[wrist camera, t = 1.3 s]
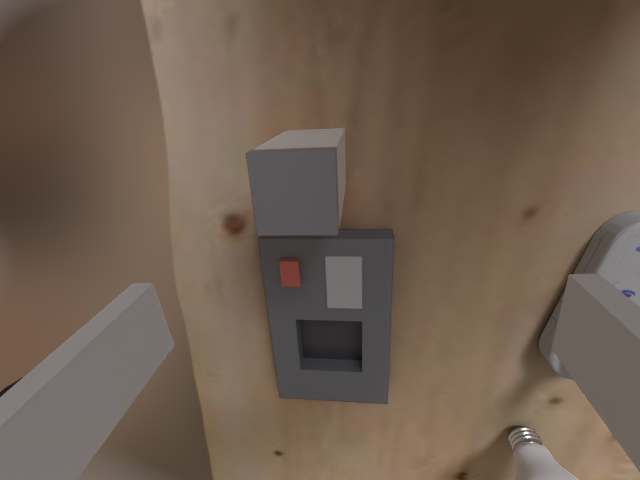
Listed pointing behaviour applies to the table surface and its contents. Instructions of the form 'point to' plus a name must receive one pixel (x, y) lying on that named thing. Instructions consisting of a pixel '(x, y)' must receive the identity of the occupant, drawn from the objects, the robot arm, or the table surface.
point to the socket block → (330, 313)
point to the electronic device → (604, 271)
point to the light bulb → (534, 457)
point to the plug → (299, 182)
